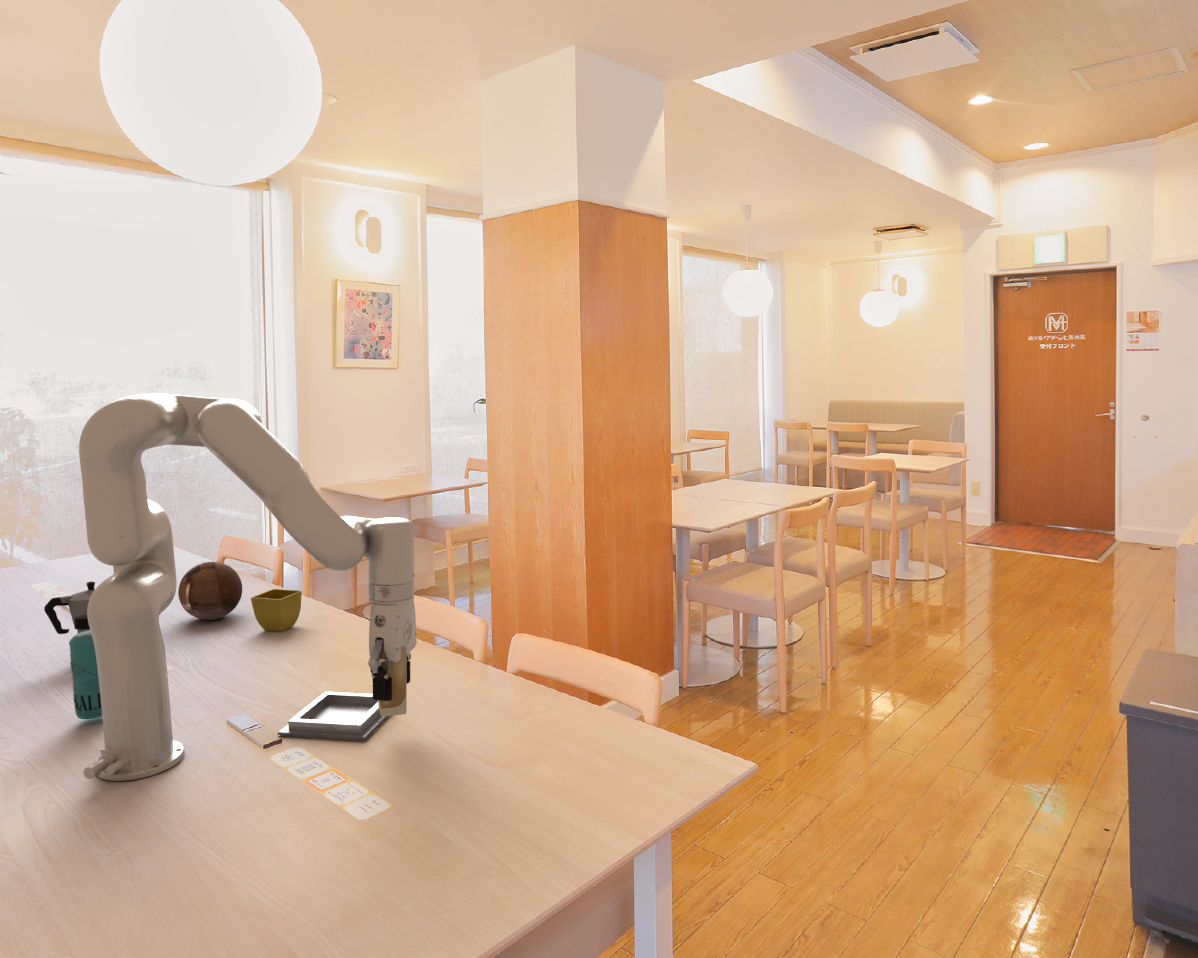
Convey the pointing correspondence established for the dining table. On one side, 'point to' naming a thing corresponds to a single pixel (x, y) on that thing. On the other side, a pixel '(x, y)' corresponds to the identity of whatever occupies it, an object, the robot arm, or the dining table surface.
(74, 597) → the coffeepot
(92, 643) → the beverage bottle
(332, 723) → the square metal tray
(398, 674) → the skincare box
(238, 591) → the wooden sphere
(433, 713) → the dining table surface
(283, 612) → the flower pot
